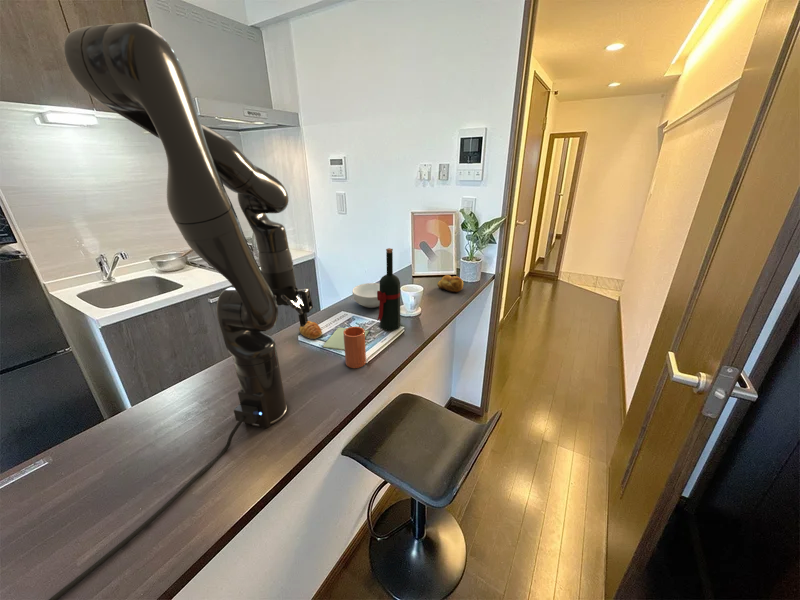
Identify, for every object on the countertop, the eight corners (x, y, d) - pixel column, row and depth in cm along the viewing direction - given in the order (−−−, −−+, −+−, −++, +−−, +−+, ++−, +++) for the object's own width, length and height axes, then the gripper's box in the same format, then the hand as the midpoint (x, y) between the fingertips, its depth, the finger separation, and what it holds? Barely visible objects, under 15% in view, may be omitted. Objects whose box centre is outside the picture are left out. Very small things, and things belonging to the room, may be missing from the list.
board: (356, 351, 107) (356, 350, 107) (322, 347, 110) (322, 346, 110) (369, 331, 120) (369, 330, 120) (338, 328, 122) (338, 327, 122)
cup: (362, 369, 98) (360, 337, 94) (342, 366, 99) (340, 335, 95) (368, 358, 104) (367, 327, 99) (350, 355, 105) (347, 325, 101)
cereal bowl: (377, 315, 132) (377, 299, 129) (345, 307, 140) (344, 292, 137) (398, 301, 146) (398, 286, 143) (368, 294, 153) (367, 280, 150)
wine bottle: (371, 328, 122) (368, 250, 110) (389, 319, 129) (388, 245, 117) (386, 335, 117) (385, 254, 105) (404, 325, 124) (405, 248, 113)
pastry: (327, 335, 117) (326, 326, 115) (310, 342, 113) (309, 332, 111) (313, 326, 123) (312, 317, 122) (297, 333, 119) (295, 323, 117)
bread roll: (434, 289, 159) (434, 274, 156) (442, 283, 167) (443, 269, 163) (458, 295, 153) (459, 279, 149) (466, 288, 160) (467, 273, 157)
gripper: (241, 271, 77) (256, 330, 84) (297, 272, 75) (308, 333, 82) (258, 261, 84) (271, 316, 91) (310, 262, 82) (319, 319, 89)
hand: (288, 324), depth 86 cm, fingers open, 8 cm apart
